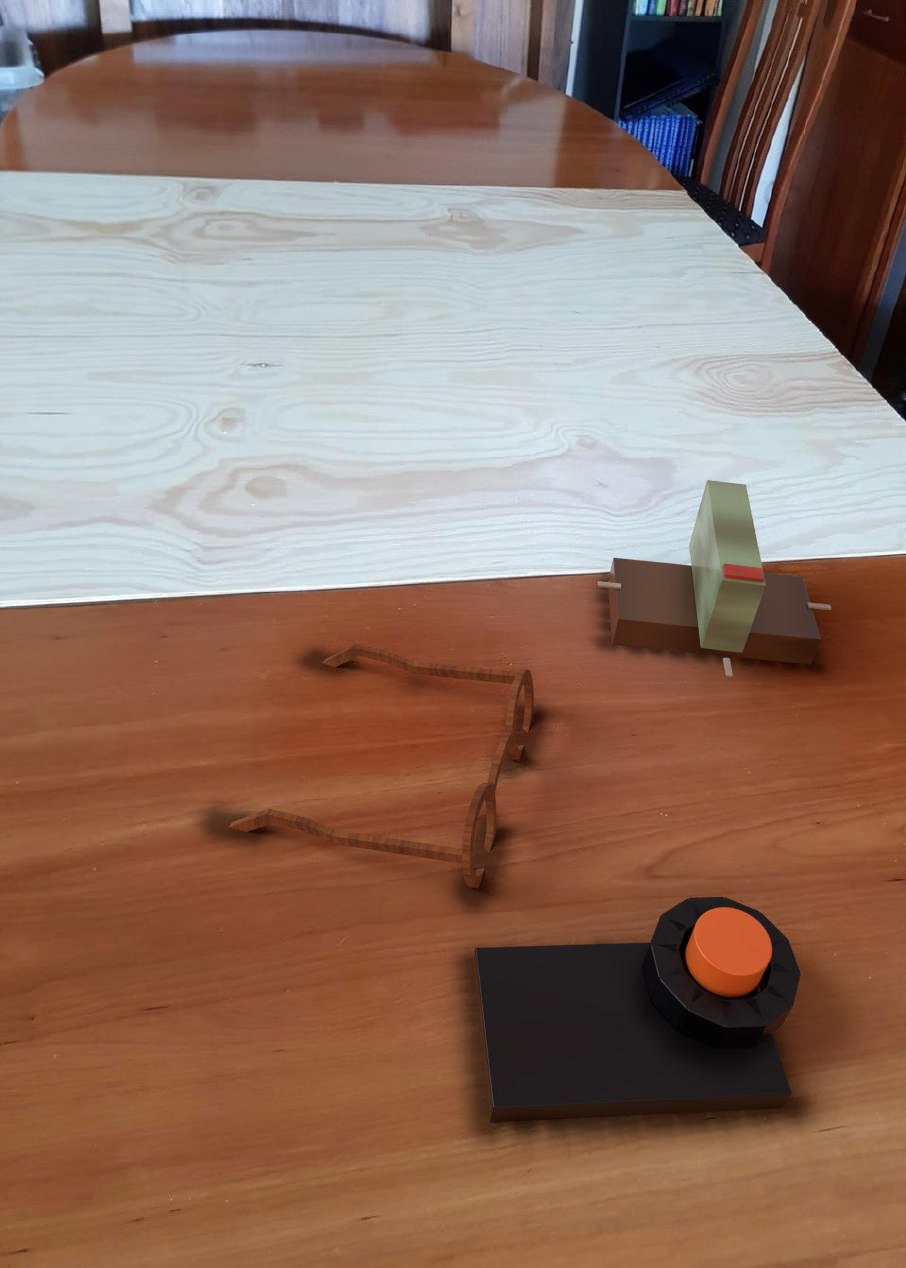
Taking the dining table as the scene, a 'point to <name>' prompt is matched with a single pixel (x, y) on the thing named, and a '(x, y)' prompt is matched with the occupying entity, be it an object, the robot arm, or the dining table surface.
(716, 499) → the green battery pack
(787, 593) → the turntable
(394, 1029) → the dining table surface
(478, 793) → the glasses
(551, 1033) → the control block
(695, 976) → the button
